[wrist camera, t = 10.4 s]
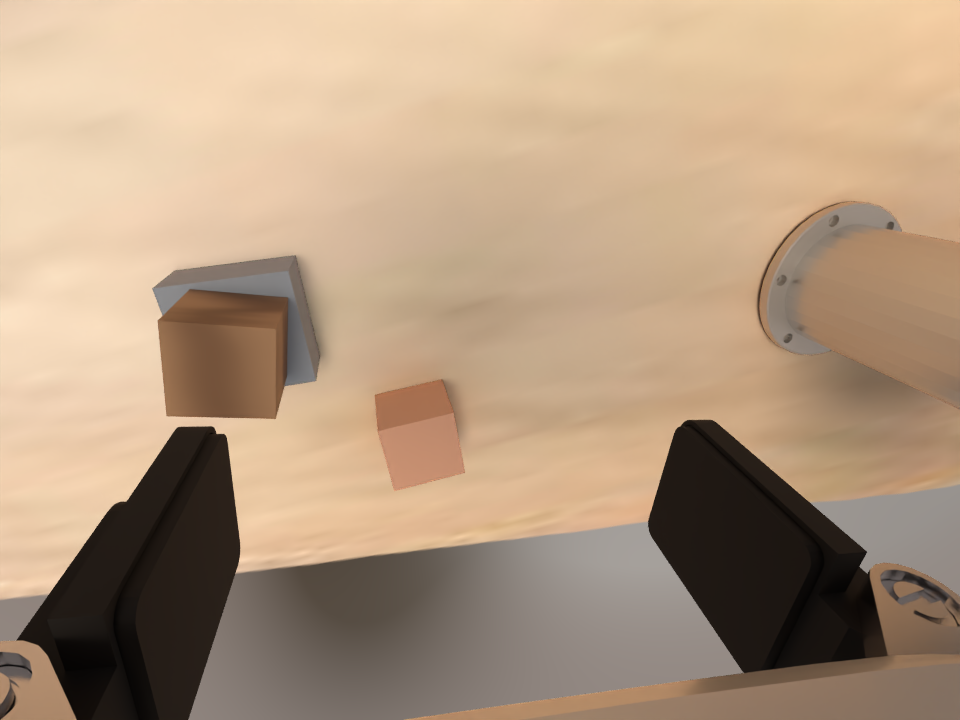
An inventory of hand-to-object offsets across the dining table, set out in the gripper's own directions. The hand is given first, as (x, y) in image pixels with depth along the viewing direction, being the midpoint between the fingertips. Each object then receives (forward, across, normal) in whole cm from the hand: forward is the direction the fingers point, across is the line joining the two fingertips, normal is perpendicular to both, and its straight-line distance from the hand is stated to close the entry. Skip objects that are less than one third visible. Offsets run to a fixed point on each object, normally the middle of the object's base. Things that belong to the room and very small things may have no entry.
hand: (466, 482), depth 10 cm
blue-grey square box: (+24, +10, +5) cm, 27 cm away
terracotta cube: (+25, -1, +13) cm, 28 cm away
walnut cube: (+20, +9, +5) cm, 23 cm away
